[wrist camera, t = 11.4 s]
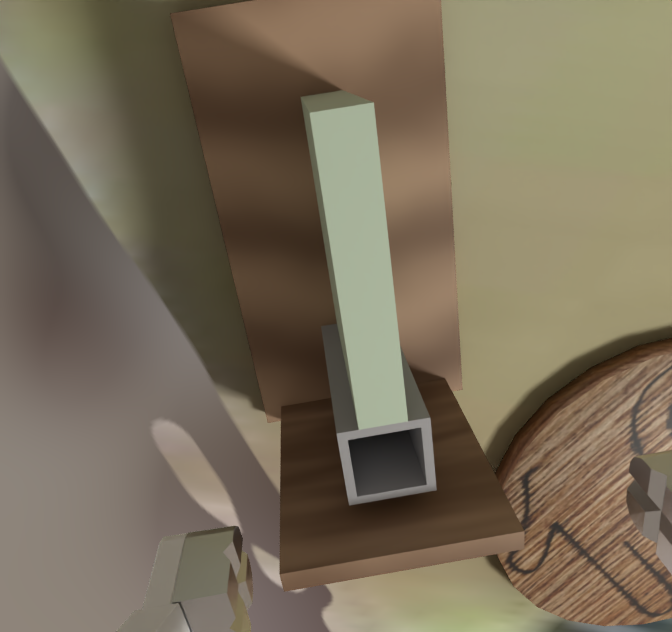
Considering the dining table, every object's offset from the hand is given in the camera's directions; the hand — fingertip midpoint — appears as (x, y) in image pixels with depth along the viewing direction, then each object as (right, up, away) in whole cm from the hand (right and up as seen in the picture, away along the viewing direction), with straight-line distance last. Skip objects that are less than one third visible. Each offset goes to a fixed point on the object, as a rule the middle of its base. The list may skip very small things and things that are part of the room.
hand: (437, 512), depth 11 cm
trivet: (+21, -8, +29) cm, 37 cm away
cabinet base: (-2, +9, +18) cm, 21 cm away
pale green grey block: (-2, +7, +18) cm, 19 cm away
